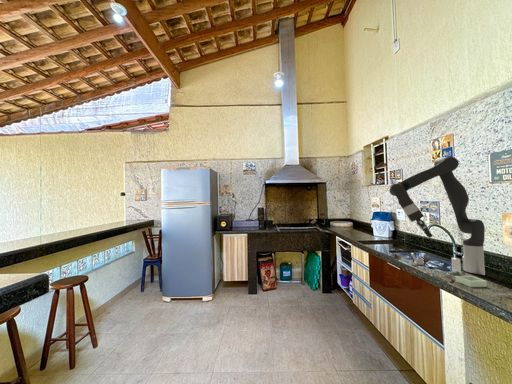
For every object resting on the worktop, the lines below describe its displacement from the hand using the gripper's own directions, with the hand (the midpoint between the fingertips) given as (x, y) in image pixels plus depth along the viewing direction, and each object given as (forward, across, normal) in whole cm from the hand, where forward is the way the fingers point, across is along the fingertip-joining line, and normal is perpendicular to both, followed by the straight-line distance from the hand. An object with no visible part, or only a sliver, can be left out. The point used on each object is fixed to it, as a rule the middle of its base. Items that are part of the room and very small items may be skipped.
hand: (430, 236), depth 137 cm
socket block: (+26, +2, +2) cm, 26 cm away
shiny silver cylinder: (+25, +2, +1) cm, 25 cm away
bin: (+29, -5, -2) cm, 29 cm away
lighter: (+16, +32, +16) cm, 39 cm away
